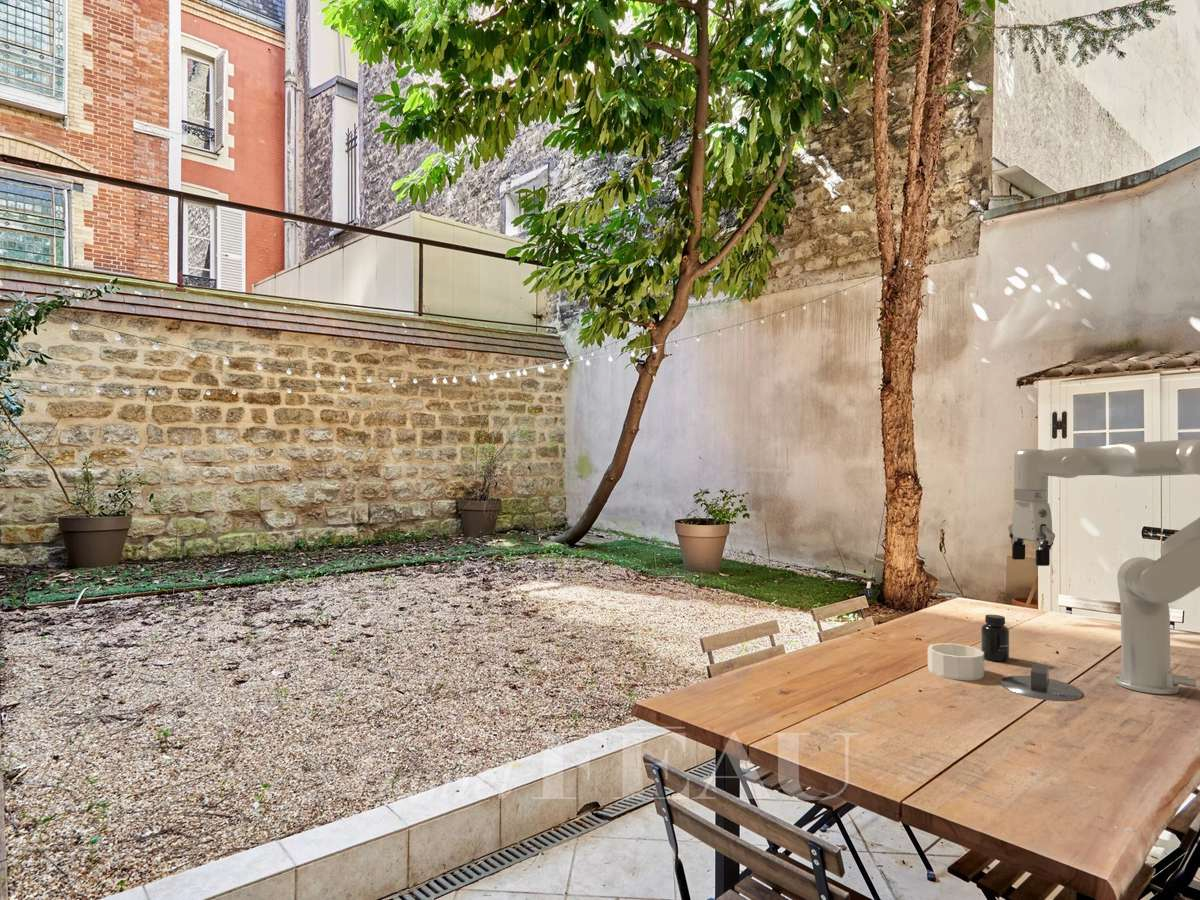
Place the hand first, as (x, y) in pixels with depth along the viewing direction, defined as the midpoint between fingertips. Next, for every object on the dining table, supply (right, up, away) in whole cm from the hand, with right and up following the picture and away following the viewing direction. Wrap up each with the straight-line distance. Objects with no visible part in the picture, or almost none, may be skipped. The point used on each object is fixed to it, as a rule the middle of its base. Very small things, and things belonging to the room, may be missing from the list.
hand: (1030, 562), depth 179 cm
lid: (-3, -30, -9) cm, 32 cm away
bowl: (-17, -30, +4) cm, 35 cm away
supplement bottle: (-1, -30, +15) cm, 33 cm away
